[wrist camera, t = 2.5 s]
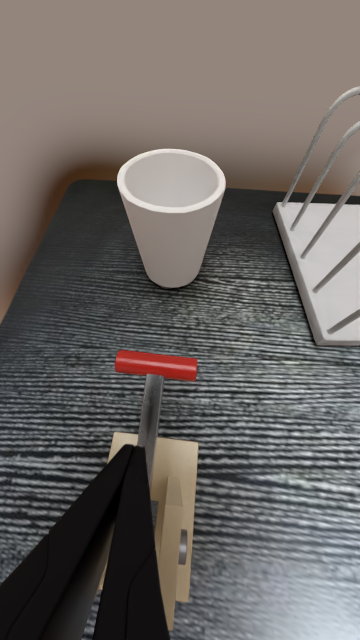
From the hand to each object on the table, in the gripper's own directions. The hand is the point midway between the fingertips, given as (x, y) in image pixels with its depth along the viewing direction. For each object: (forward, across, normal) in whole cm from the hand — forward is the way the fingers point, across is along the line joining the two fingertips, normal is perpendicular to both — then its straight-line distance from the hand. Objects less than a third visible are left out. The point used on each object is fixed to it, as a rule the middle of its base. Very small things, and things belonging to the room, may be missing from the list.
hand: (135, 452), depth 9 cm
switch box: (+6, 0, +13) cm, 14 cm away
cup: (+25, +1, -5) cm, 25 cm away
